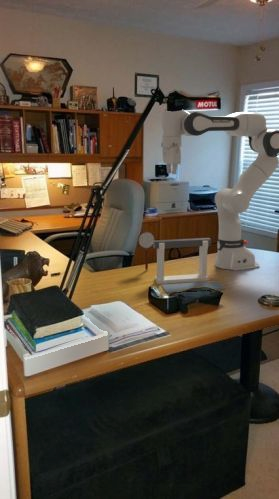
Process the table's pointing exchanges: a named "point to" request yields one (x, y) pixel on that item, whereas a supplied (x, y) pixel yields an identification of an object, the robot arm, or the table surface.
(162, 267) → the frame
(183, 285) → the mat
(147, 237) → the magnifying glass
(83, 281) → the table surface
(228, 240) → the robot arm
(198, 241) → the rail
